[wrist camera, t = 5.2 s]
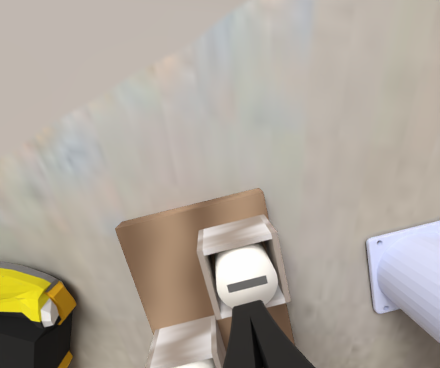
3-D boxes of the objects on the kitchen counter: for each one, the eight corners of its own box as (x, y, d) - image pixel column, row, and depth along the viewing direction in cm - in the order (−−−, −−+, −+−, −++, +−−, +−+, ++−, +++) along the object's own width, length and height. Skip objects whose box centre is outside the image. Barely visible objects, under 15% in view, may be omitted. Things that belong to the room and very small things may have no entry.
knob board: (258, 187, 19) (276, 204, 14) (292, 347, 23) (315, 405, 18) (121, 221, 19) (92, 250, 14) (176, 376, 23) (168, 442, 18)
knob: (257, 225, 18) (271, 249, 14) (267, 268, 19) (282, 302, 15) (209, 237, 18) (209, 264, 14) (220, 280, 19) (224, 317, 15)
